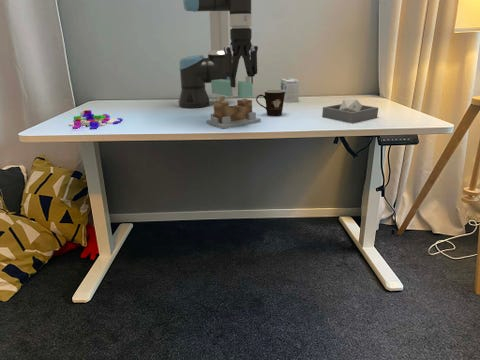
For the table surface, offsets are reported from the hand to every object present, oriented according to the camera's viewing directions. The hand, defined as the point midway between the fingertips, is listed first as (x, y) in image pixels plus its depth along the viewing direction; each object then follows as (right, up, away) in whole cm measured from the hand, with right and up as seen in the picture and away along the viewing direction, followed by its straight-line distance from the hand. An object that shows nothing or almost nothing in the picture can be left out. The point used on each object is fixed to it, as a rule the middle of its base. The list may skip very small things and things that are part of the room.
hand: (242, 95), depth 136 cm
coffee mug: (+13, -3, +22) cm, 25 cm away
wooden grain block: (-3, -8, +8) cm, 12 cm away
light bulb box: (+25, +9, +52) cm, 59 cm away
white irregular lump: (+44, -6, +14) cm, 47 cm away
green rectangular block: (-4, +1, +4) cm, 6 cm away
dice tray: (+44, -6, +14) cm, 47 cm away
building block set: (-60, -8, +15) cm, 62 cm away
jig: (-3, -9, +9) cm, 13 cm away
